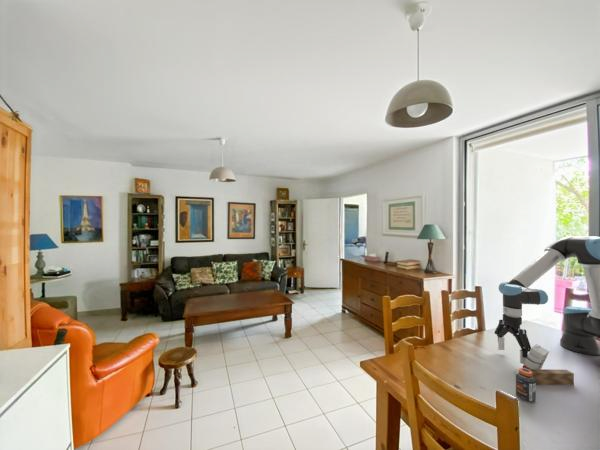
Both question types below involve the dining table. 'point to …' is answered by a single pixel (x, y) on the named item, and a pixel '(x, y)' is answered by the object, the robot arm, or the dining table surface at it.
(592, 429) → the dining table surface
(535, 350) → the ink box
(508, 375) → the dining table surface
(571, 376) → the board
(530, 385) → the pill bottle
